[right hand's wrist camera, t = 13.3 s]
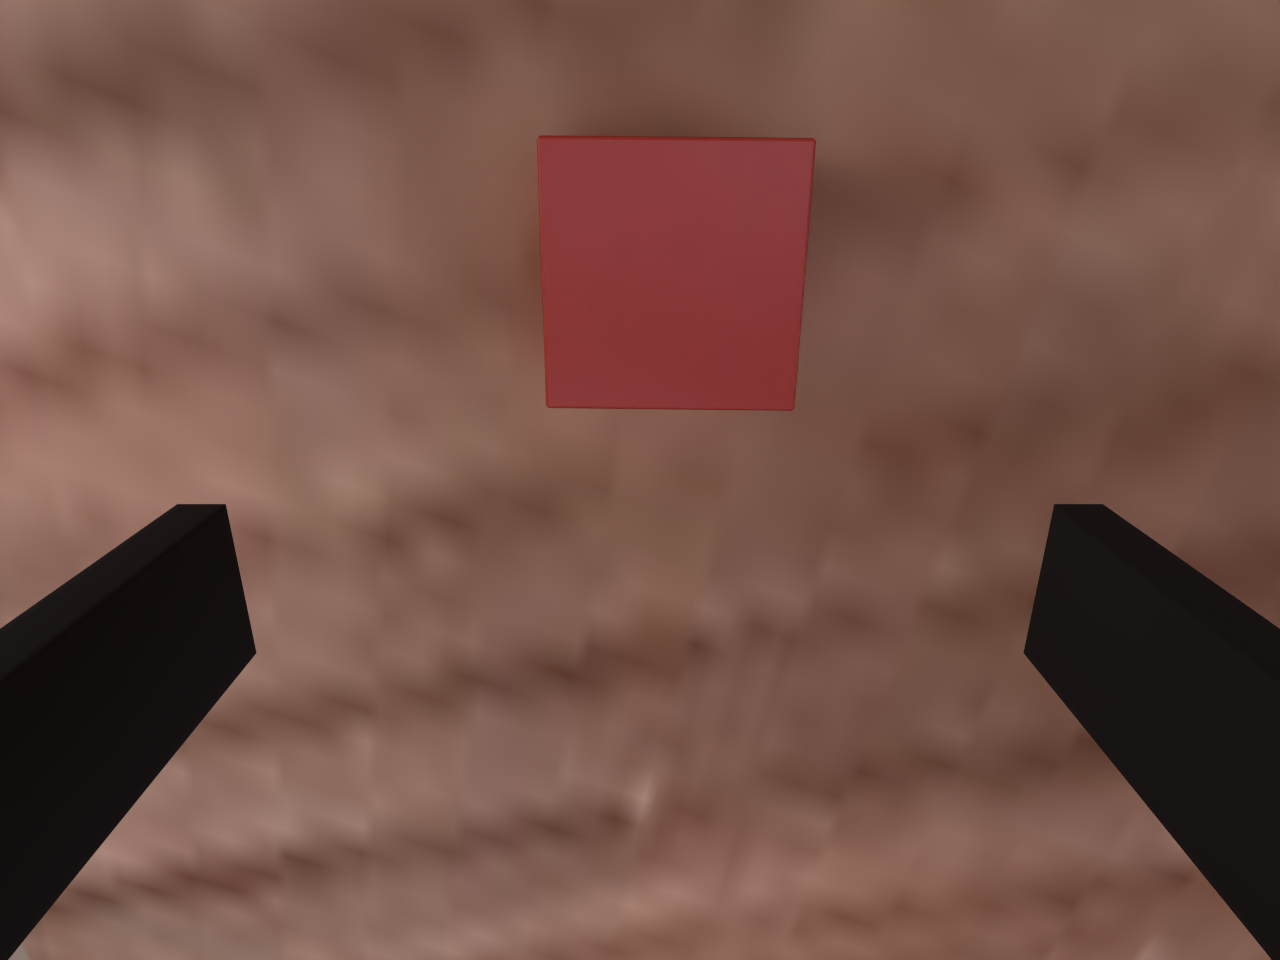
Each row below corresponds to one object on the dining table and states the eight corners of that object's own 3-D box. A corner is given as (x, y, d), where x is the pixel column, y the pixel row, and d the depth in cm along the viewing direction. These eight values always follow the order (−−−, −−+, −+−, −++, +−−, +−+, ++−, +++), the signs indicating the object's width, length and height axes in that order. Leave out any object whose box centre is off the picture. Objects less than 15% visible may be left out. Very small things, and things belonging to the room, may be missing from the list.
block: (564, 148, 18) (536, 135, 14) (774, 150, 18) (816, 138, 14) (568, 358, 20) (545, 408, 16) (761, 361, 20) (794, 411, 16)
